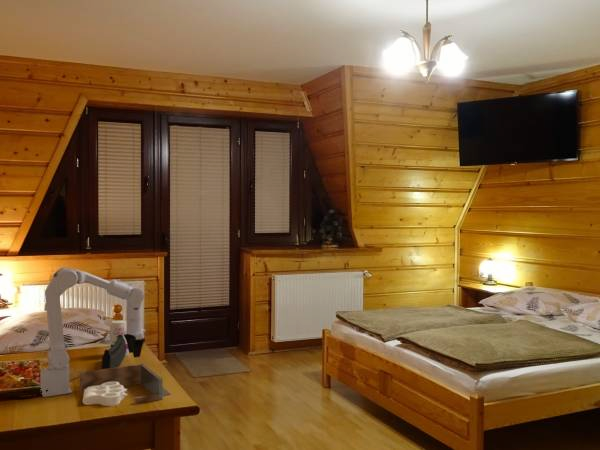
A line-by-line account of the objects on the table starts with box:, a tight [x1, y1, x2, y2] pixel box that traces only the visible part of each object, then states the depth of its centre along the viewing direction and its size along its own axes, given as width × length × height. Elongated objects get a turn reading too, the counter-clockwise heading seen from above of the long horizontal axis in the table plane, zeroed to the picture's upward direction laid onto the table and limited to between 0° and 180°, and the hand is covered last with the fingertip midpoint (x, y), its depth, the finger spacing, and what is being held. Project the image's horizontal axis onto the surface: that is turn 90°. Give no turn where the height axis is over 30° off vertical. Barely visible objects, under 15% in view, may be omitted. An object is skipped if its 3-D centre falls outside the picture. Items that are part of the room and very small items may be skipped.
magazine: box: [100, 335, 126, 370], centre depth 239 cm, size 17×3×30 cm
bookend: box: [140, 363, 172, 401], centre depth 211 cm, size 5×23×7 cm, turn 31°
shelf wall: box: [79, 363, 159, 405], centre depth 204 cm, size 23×23×7 cm
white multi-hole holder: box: [82, 381, 128, 407], centre depth 202 cm, size 3×18×15 cm
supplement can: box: [109, 319, 130, 357], centre depth 260 cm, size 8×8×15 cm
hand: (134, 354), depth 221 cm, fingers open, 7 cm apart
